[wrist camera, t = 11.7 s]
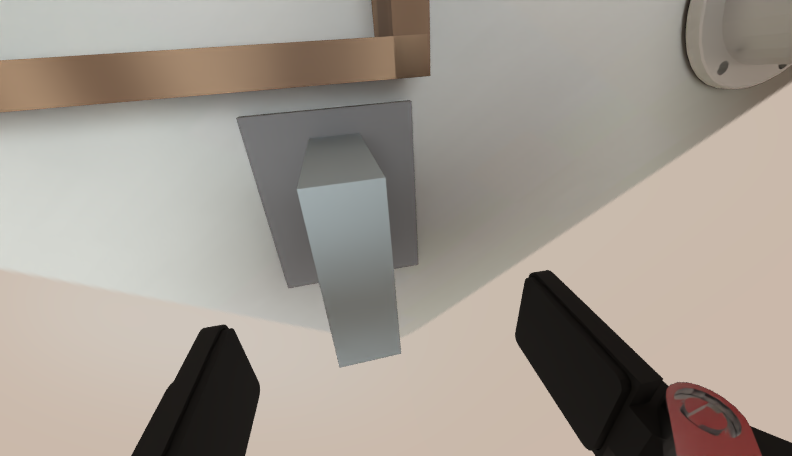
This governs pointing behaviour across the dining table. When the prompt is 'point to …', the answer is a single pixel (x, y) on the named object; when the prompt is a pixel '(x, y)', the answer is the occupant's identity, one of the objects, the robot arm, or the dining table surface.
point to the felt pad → (283, 159)
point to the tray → (225, 66)
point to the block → (351, 246)
